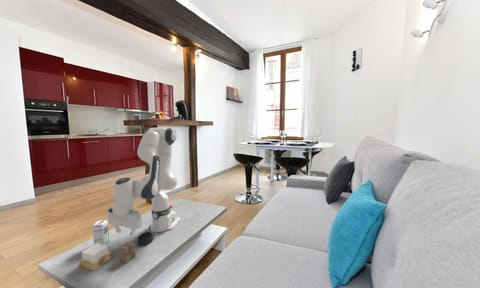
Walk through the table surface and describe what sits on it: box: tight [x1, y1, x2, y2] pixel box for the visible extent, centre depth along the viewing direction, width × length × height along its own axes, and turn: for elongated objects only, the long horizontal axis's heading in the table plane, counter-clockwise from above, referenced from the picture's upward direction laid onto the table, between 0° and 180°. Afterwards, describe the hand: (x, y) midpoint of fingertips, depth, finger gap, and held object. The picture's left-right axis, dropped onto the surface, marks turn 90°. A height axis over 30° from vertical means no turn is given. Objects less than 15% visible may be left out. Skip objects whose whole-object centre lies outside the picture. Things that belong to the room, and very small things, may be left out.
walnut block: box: [119, 241, 136, 264], centre depth 105 cm, size 5×5×8 cm
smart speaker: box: [137, 231, 154, 246], centre depth 121 cm, size 9×9×4 cm
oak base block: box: [78, 250, 113, 272], centre depth 102 cm, size 10×10×4 cm
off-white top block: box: [81, 243, 109, 263], centre depth 102 cm, size 8×8×4 cm
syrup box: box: [91, 219, 110, 246], centre depth 117 cm, size 6×6×14 cm
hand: (125, 233), depth 103 cm, fingers open, 8 cm apart
